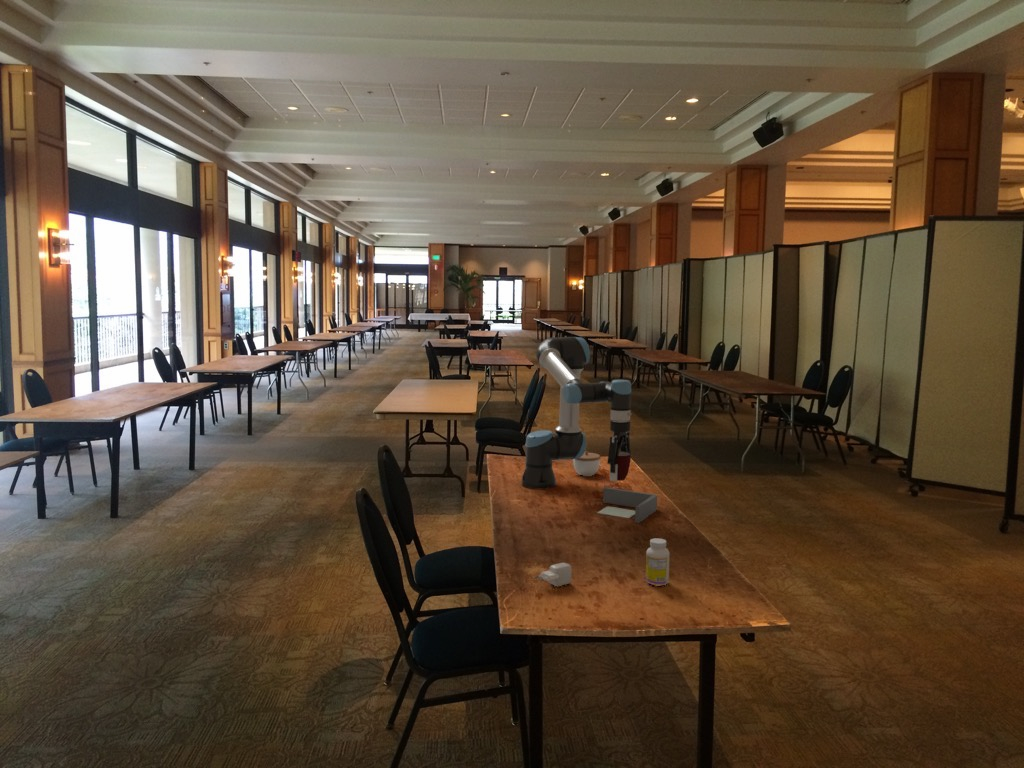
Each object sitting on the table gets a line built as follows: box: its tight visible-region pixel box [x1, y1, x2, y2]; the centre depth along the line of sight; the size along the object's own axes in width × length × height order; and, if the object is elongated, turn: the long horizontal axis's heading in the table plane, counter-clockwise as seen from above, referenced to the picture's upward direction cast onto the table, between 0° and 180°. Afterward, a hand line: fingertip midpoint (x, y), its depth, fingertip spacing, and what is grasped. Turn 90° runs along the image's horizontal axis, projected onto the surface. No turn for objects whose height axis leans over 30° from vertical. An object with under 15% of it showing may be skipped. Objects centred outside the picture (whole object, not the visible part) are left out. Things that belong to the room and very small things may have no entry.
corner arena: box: [597, 486, 658, 524], centre depth 293 cm, size 22×20×6 cm
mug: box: [616, 451, 632, 482], centre depth 290 cm, size 11×8×10 cm
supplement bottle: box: [645, 537, 670, 585], centre depth 222 cm, size 7×7×13 cm
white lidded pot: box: [572, 450, 601, 477], centre depth 352 cm, size 13×13×11 cm
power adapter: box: [534, 562, 573, 587], centre depth 219 cm, size 11×5×6 cm, turn 122°
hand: (618, 477), depth 291 cm, fingers closed on mug, 10 cm apart
